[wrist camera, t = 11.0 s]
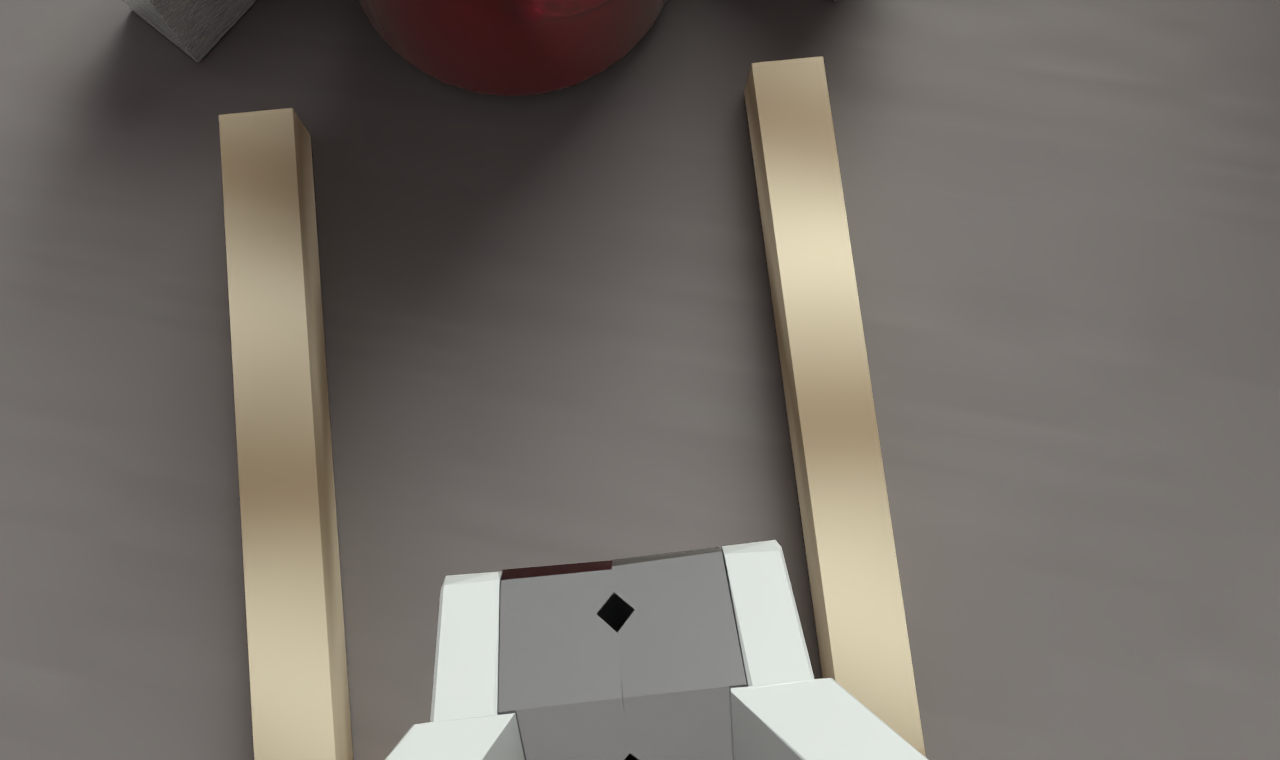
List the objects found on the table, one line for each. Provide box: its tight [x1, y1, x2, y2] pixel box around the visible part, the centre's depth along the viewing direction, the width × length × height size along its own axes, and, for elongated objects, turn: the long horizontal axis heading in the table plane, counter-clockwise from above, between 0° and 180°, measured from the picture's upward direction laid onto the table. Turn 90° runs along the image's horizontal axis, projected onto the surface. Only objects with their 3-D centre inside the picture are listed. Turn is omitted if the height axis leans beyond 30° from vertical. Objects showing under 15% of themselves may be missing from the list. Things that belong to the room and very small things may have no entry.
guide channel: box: [219, 56, 926, 760], centre depth 25 cm, size 16×12×2 cm
